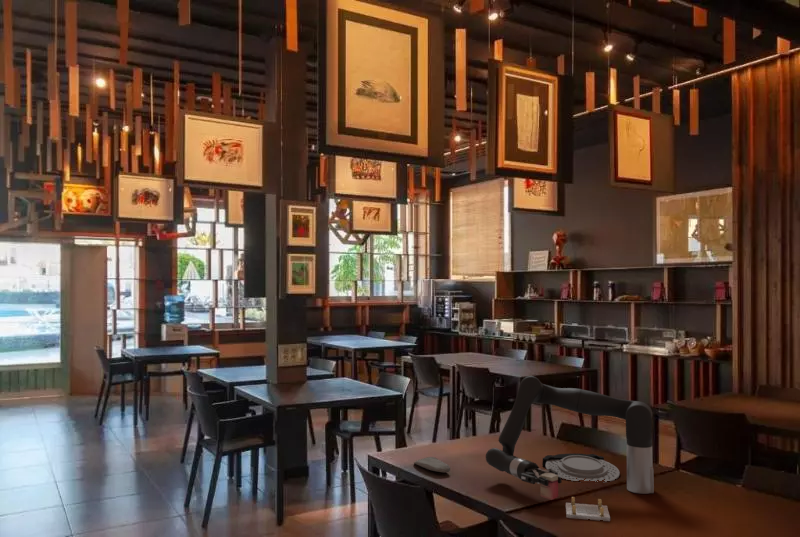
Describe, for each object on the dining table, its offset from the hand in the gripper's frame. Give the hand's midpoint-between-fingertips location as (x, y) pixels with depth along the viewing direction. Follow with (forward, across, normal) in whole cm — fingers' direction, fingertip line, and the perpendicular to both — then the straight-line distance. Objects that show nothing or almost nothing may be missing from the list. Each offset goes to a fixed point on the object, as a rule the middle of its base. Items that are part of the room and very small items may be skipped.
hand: (554, 481), depth 229 cm
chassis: (+10, +6, +9) cm, 15 cm away
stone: (-60, -10, +7) cm, 61 cm away
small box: (-3, 0, +6) cm, 7 cm away
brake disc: (-30, +40, +10) cm, 51 cm away
